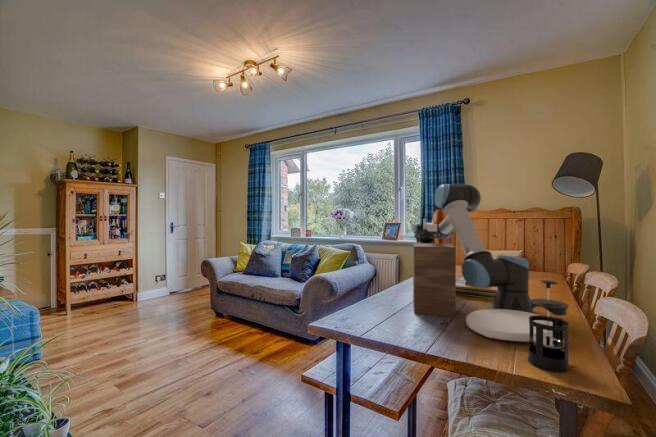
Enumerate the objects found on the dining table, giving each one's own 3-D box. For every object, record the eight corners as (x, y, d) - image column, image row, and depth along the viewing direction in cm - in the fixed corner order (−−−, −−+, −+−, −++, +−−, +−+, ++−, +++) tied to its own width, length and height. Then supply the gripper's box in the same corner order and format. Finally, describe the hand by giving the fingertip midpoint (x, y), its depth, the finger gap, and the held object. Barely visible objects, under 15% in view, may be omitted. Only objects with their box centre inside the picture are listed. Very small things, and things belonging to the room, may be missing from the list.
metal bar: (424, 228, 166) (424, 222, 166) (430, 228, 166) (430, 222, 166) (428, 231, 135) (428, 224, 135) (437, 231, 134) (437, 224, 134)
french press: (557, 376, 79) (557, 286, 79) (519, 361, 87) (519, 279, 87) (579, 365, 85) (579, 281, 85) (541, 352, 93) (542, 275, 93)
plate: (481, 331, 98) (455, 306, 124) (483, 351, 98) (457, 323, 124) (576, 324, 95) (529, 301, 122) (579, 345, 95) (531, 317, 122)
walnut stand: (413, 303, 145) (413, 243, 145) (449, 305, 141) (449, 243, 141) (414, 313, 129) (414, 246, 129) (455, 316, 126) (455, 247, 125)
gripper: (441, 247, 173) (446, 227, 153) (410, 246, 177) (411, 227, 157) (441, 234, 176) (445, 214, 156) (410, 234, 180) (411, 214, 160)
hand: (428, 220), depth 157 cm, fingers closed on metal bar, 3 cm apart
